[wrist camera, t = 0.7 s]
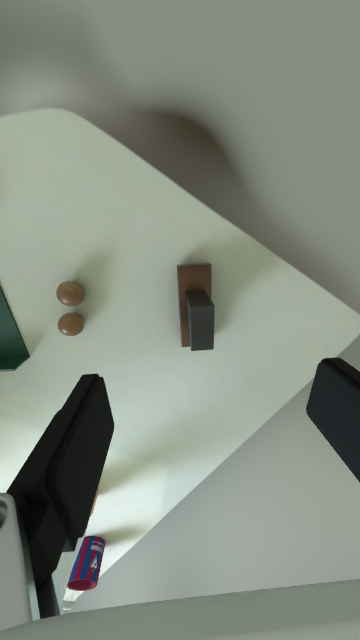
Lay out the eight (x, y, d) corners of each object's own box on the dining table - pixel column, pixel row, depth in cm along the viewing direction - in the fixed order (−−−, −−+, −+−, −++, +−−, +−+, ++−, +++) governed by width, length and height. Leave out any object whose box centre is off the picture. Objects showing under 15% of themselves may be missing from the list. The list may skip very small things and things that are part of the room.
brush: (176, 264, 25) (180, 276, 18) (208, 262, 25) (223, 273, 18) (181, 341, 29) (184, 374, 23) (208, 339, 29) (220, 371, 23)
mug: (110, 541, 52) (102, 583, 46) (86, 555, 54) (75, 597, 48) (89, 533, 50) (78, 576, 44) (65, 548, 52) (50, 591, 46)
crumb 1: (60, 279, 25) (47, 285, 22) (85, 278, 25) (75, 283, 22) (67, 302, 26) (55, 310, 23) (90, 300, 26) (81, 308, 23)
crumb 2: (61, 310, 26) (49, 319, 24) (84, 308, 27) (75, 317, 24) (68, 330, 28) (57, 341, 25) (90, 328, 28) (81, 339, 25)
